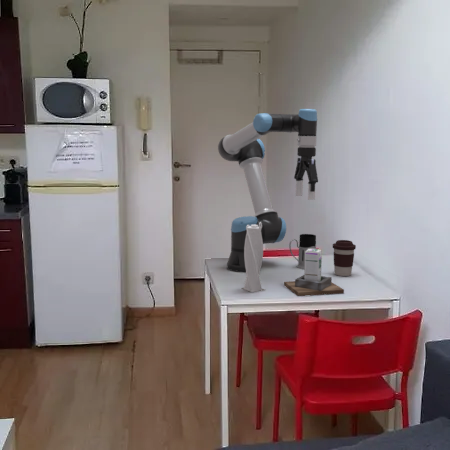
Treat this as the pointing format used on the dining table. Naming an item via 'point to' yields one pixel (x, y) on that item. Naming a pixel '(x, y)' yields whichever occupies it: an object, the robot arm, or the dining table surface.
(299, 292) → the socket board
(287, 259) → the dining table surface
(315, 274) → the syrup box
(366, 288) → the dining table surface
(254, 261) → the skyscraper
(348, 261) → the coffee cup
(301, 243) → the glass holder
